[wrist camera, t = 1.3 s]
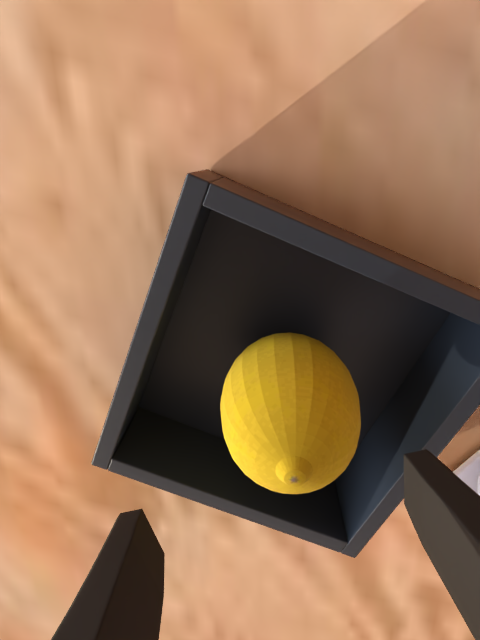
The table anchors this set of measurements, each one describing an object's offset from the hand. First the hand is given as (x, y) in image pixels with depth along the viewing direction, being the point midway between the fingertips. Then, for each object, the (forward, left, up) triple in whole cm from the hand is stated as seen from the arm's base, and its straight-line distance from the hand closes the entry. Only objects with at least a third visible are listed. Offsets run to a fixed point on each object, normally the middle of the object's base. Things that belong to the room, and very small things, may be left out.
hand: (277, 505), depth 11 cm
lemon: (-1, 0, -10) cm, 10 cm away
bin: (-1, 0, -10) cm, 10 cm away
